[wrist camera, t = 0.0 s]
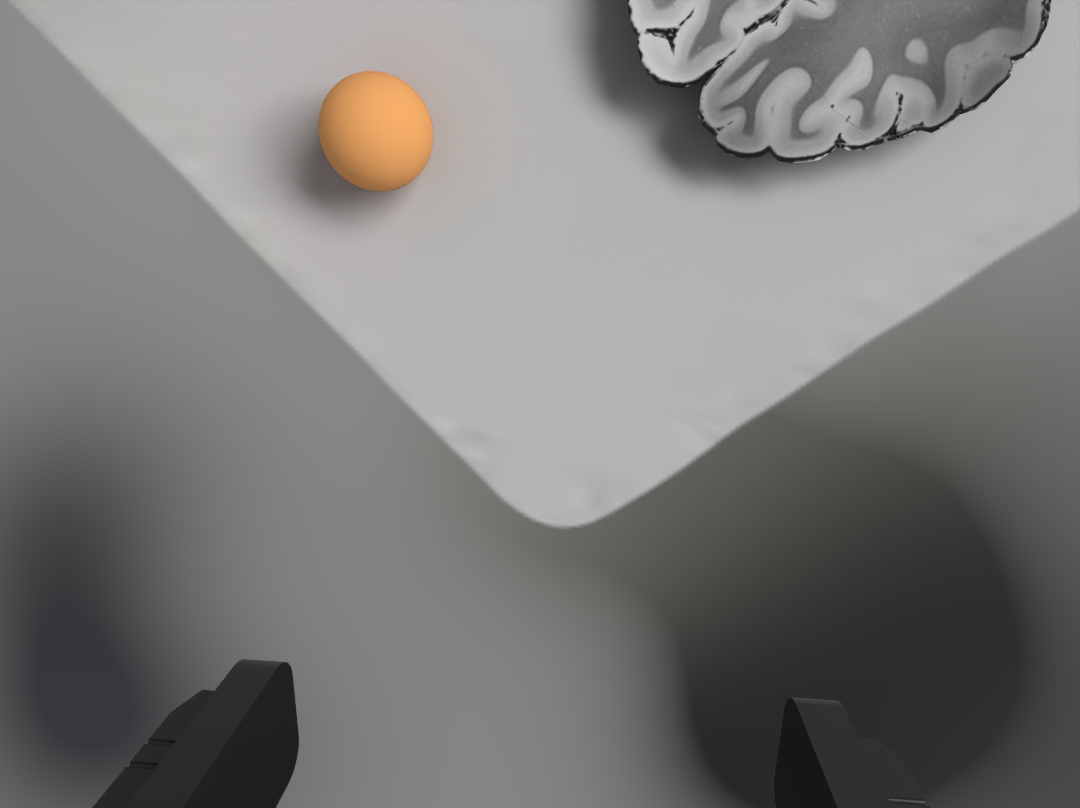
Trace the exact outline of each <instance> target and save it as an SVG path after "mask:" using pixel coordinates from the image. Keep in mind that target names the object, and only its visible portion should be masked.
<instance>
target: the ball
mask: <svg viewBox="0 0 1080 808" xmlns="http://www.w3.org/2000/svg"><path fill="white" fill-rule="evenodd" d="M318 131H319V138H320V142H321V146H322V148H323V151H324V153H325V155H326V157H327V159H328V161H329V162H330V164H331V165H332V167H333V168H334V169H335V170H336V171H337V172H338V173H339V174H340V175H341V176H342V177H343V178H344V179H346V180H347V181H349V182H350V183H352V184H354V185H356V186H358V187H361V188H363V189H367V190H372V191H389V190H394V189H397V188H400V187H403V186H405V185H407V184H408V183H410V182H411V181H413V180H414V179H415V178H416V177H417V176H418V175H419V174H420V173H421V171H422V170H423V169H424V167H425V166H426V164H427V162H428V160H429V157H430V154H431V151H432V146H433V126H432V122H431V118H430V115H429V112H428V110H427V107H426V105H425V104H424V102H423V100H422V99H421V97H420V96H419V95H418V94H417V92H416V91H415V90H414V89H412V88H411V87H410V86H409V85H408V84H407V83H405V82H404V81H403V80H401V79H399V78H397V77H395V76H393V75H390V74H387V73H383V72H378V71H365V72H359V73H355V74H352V75H350V76H348V77H346V78H344V79H342V80H341V81H340V82H338V83H337V84H336V85H335V86H334V87H333V88H332V89H331V90H330V92H329V93H328V95H327V96H326V98H325V100H324V102H323V104H322V107H321V110H320V114H319V122H318Z"/></svg>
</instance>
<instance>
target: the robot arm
mask: <svg viewBox="0 0 1080 808" xmlns="http://www.w3.org/2000/svg"><path fill="white" fill-rule="evenodd" d="M298 747H299V735H298V724H297V715H296V704H295V694H294V684H293V675H292V669H291V667H290V665H289V664H288V663H287V662H276V661H261V660H246V659H244V660H240V661H239V662H237V663H236V664H235V666H234V667H233V668H232V669H231V670H230V672H229V673H228V674H227V676H226V677H225V678H224V680H223V681H222V682H221V683H220V685H219V686H218V687H217V689H216V690H215V691H208V690H202V691H200V692H199V693H197V694H196V695H195V696H193V697H192V698H191V699H189V700H187V701H186V702H185V703H183V704H182V705H180V706H179V707H178V708H176V709H175V710H173V711H172V712H171V713H170V714H169V715H168V716H167V718H166V719H165V720H164V721H163V722H162V724H161V725H160V726H159V727H158V729H157V730H156V731H155V732H154V733H153V735H152V736H151V737H150V738H149V742H148V744H144V746H143V747H142V748H141V749H140V751H139V752H138V753H137V754H136V755H135V757H134V758H133V759H132V760H131V763H130V766H129V767H125V769H124V770H123V771H122V772H121V774H120V775H119V776H118V777H117V778H116V780H115V781H114V782H113V783H112V784H111V786H110V787H109V788H108V789H107V791H106V792H105V793H104V794H103V795H102V797H101V798H100V799H99V800H98V802H97V803H96V804H95V805H94V806H93V808H276V806H277V804H278V802H279V801H280V799H281V797H282V795H283V793H284V791H285V789H286V787H287V785H288V783H289V781H290V779H291V777H292V774H293V771H294V768H295V764H296V760H297V755H298ZM774 797H775V806H776V808H929V806H926V804H925V799H924V797H923V795H922V793H921V791H920V789H919V788H918V786H917V784H916V782H915V780H914V779H913V777H912V775H911V773H910V771H909V769H908V768H907V767H906V766H905V765H904V764H903V763H902V762H901V761H900V760H899V759H898V758H897V757H896V756H895V755H894V754H893V753H892V752H891V751H890V750H889V749H888V748H887V747H886V746H885V745H884V744H883V743H882V742H881V741H879V740H878V739H866V738H859V737H858V736H857V733H856V731H855V730H854V727H853V725H852V723H851V722H850V720H849V717H848V715H847V713H846V711H845V709H844V707H843V706H842V704H841V703H840V702H839V701H835V700H820V699H805V698H788V699H787V701H786V703H785V707H784V713H783V720H782V727H781V733H780V740H779V747H778V754H777V761H776V768H775V775H774Z"/></svg>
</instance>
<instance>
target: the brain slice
mask: <svg viewBox="0 0 1080 808" xmlns="http://www.w3.org/2000/svg"><path fill="white" fill-rule="evenodd" d="M627 2H628V10H629V17H630V20H631V24H632V27H633V30H634V31H635V33H636V34H637V35H638V50H639V55H640V59H641V62H642V63H643V65H644V67H645V69H646V71H647V73H648V75H649V76H650V77H651V78H653V79H654V80H655V81H656V82H657V83H658V84H661V85H665V86H670V87H679V88H684V87H687V86H690V85H693V84H696V83H698V82H699V81H700V80H701V79H703V78H704V77H705V76H706V75H708V74H709V73H710V72H711V71H713V70H714V69H715V68H716V67H717V66H719V65H720V64H721V66H720V67H719V68H718V69H717V70H716V71H715V72H714V73H713V74H712V75H711V76H710V77H709V78H708V79H707V81H706V83H705V84H704V86H703V88H702V93H701V97H700V102H699V115H698V116H699V118H700V119H701V121H702V122H703V126H704V127H706V128H707V129H708V130H709V131H710V132H711V133H712V134H713V135H715V136H716V139H717V144H718V146H719V147H720V148H721V149H722V150H723V151H724V152H725V153H728V154H731V155H734V156H736V157H739V158H747V159H751V158H755V157H759V156H762V155H764V154H765V153H767V152H769V151H770V152H771V153H772V154H773V155H774V157H775V158H776V159H777V160H778V161H782V162H785V163H789V164H790V163H804V162H811V161H816V160H820V159H822V158H823V157H825V156H827V155H828V154H830V153H831V152H832V151H834V150H835V149H836V148H839V149H844V150H849V151H852V150H865V149H868V148H870V147H873V146H875V145H878V144H881V143H883V142H887V141H891V140H897V139H901V138H903V137H906V136H908V135H910V134H912V133H915V132H917V131H919V130H922V131H926V132H931V133H932V132H934V131H936V130H939V129H941V128H943V127H945V126H947V125H948V124H949V123H950V122H951V121H953V120H954V119H955V118H956V117H958V116H959V115H960V114H963V113H966V112H969V111H972V110H975V109H976V108H978V107H979V106H981V105H982V104H983V103H985V102H986V101H987V100H988V99H989V98H990V97H991V96H992V94H993V93H994V92H995V91H996V90H997V89H998V88H999V87H1000V86H1001V85H1002V84H1003V83H1004V82H1005V81H1006V80H1007V79H1008V78H1009V77H1010V75H1011V73H1012V70H1013V64H1015V63H1017V62H1018V61H1020V60H1022V59H1023V58H1025V57H1026V56H1028V55H1029V54H1030V53H1031V51H1032V50H1033V49H1034V48H1035V46H1036V45H1037V44H1038V42H1039V40H1040V38H1041V36H1042V34H1043V32H1044V30H1045V28H1046V26H1047V23H1048V18H1049V12H1050V6H1051V0H627Z"/></svg>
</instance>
